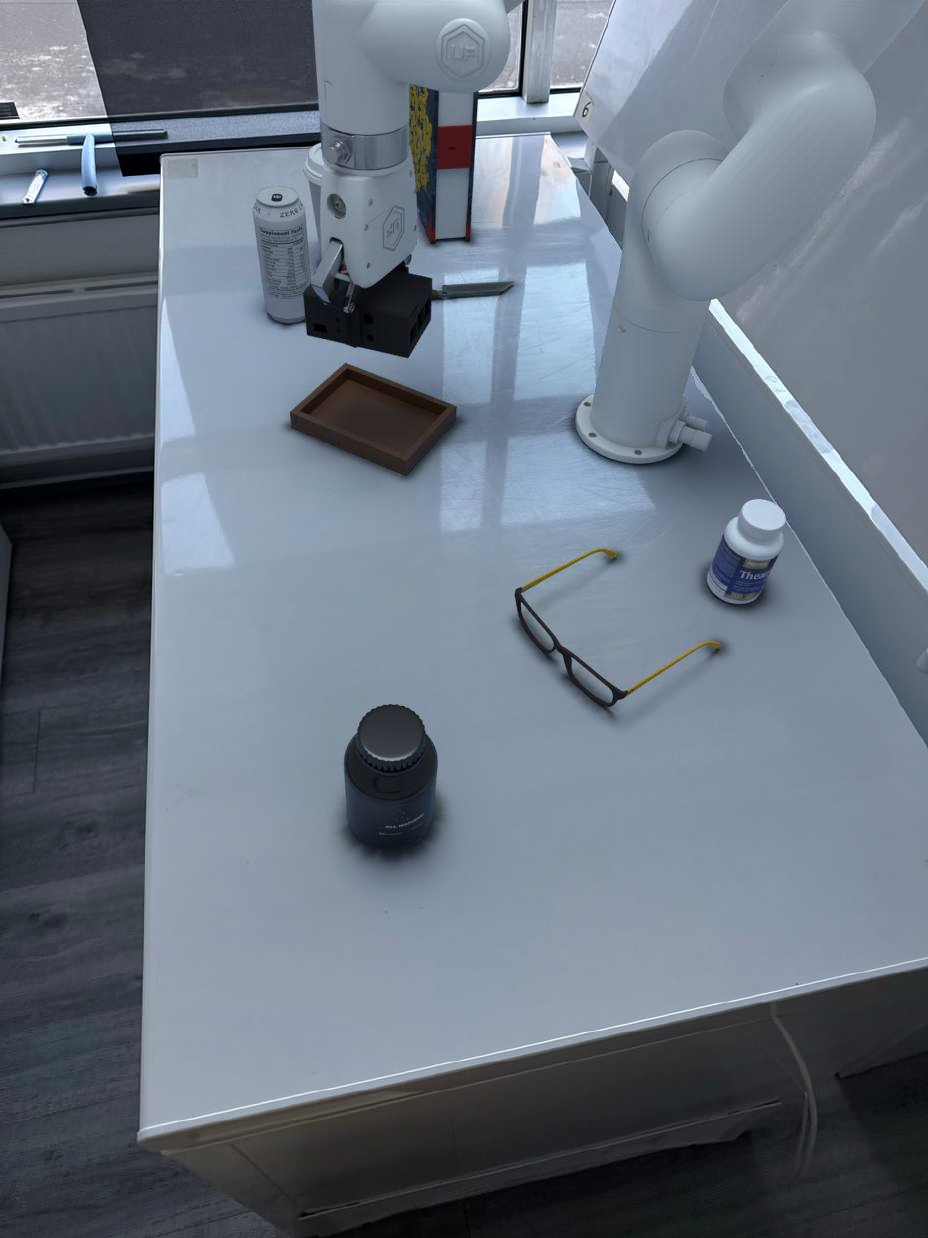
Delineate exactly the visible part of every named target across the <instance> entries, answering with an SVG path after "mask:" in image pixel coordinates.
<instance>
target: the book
mask: <svg viewBox="0 0 928 1238" xmlns="http://www.w3.org/2000/svg"><path fill="white" fill-rule="evenodd" d="M479 93H480V91H477V92H474V93H467V94H454V93H447V92H442V91H438V90H433V89H429V88H425V87H421V86H417V85H412V84H409V147H410V150H411V154H412V159H413V166H414V173H415V184H416V201H417V208H419V215H418V218H419V219H420V221H421V223H422V226H423V228H424V232H425V234H426V237H427V239H428V241H429V242H430V243H429V244H430V245H435V244H436V240H440V239H453V238H463V239H464V240H465V243H466V242H471V232H472V231H471V230H472V213H473V212H472V211H473V196H474V178H475V177H474V176H475V162H476V144H477V127H478V110H479Z"/></svg>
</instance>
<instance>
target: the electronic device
mask: <svg viewBox="0 0 928 1238" xmlns="http://www.w3.org/2000/svg"><path fill="white" fill-rule="evenodd" d="M341 273H344V274H347V275H349V273H348V270H347V268H346V267H344V268H343V269H342V271H341ZM349 276H350V275H349ZM349 284H350V283H349V282H346V281H343V280H340V283H339V287H338V292H340V293H341V294H342V295H343V296H345V297H346V295H347V291H348V288H349ZM432 289H433V278H432V277H429V276H425V275H424V276H423V275H421V274H420V275H419V274H414V273H411V272H409V273H406V272H401V271H397V270H391V271H390V272H389V273H388V274H386V275H385V276H384V277H383V278H381V279H380V280H379V281H378V282H376V283H375V284H374V285H372V286H370V287H368V288H362V287H360V290H359V294H358V297H357V301H356V304H355V308H357V309H359V319H360V345H359V346H358V347H357V348H361V349H365V350H370V351H374V352H378V353H383V354H387V355H392V356H396V357H399V358H405V359H409V358H410V357H411V355H412V353H413V352H414V350H415V349H416V346H417V345H418V343H419V341H420V339H421V338H422V336H423V335H424V333H425V331H426V330H427V328H428V326H429V324H430V323H431V321H432V306H433V305H432V304H433V303H432V302H433V298H432ZM303 300H304V311H305V319H304V322H305V331H306V336H308V337H312V338H317V339H321V340H325V341H330V342H335V343H338V344H341V343H340V342H338V341H335V340H333V339H331V337H330V330H329V316H328V306H327V305H325V304H324V302H322V301H321V300H320V299H319V298H318V295H317V293H316V292H315V290H314V289H313V287H312V286H311V283H310V285H309V286H308V287H307V288H306V290H305V291H304V293H303Z"/></svg>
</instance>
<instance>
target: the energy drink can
mask: <svg viewBox="0 0 928 1238" xmlns="http://www.w3.org/2000/svg"><path fill="white" fill-rule="evenodd" d="M299 197H300V196H299V192H298V191H297V190H296V189H295V188H293V187H291V186H288V185H283V184H282V185H281V184H272V185H268V186H264V187H261V188H260V189H258V191H257V192H256V193H255V198H256V200H255V202H254V204H253V206H252V219H253V225H254V232H255V240H256V248H257V255H258V263H259V264H258V265H259V271H260V277H261V278H260V279H261V286H262V293H263V301H264V308H265V310H266V313H268V314H269V315H270V316H271V318H272V319H274V321H277V322H280V323H282V324H295V323H299V322H303V321H305V311H304V300H303V293H304V291H305V290H306V288H307V287H308V286H309V285H310V283H311V280H312V275H311V273H312V272H311V261H310V251H309V239H308V227H307V216H306V215H307V214H306V207H305V205H304V203H303V202H302V200H301V199H300V198H299Z"/></svg>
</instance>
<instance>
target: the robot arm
mask: <svg viewBox="0 0 928 1238" xmlns="http://www.w3.org/2000/svg"><path fill="white" fill-rule="evenodd" d="M525 1H526V0H311V8H312V25H313V26H312V27H313V41H314V54H315V70H316V72H315V73H316V87H317V99H318V100H317V101H318V113H319V115H318V116H319V118H318V119H319V131H320V143H321V148H322V159H323V161H324V165H323V168H322V180H321V198H320V236H321V252H322V260H321V259H320V262H319V264H318V266H317V268H316V270H315V271H314V274H313V275H312V277H311V286H312V287H313V289H314V290H315V292H316V293H317V295H318V298H319V299H320V300H321V301H322V302H324V304H325V305H327V306H328V316H329V330H330V337H331V339H333V340H335V341H338V342H340V343H339V344H343V345H345V346H348V347H350V348H354V349H357V348H359V347H358V346H359V345H360V319H359V309H357V308H355V304H356V301H357V297H358V294H359V290H360V287H362V288H368V287H370V286H372V285H374V284H375V283H376V282H378V281H379V280H380V279H381V278H383V277H384V276H385V275H386V274H388V273H389V272H390V271H391V270H397V271H401V272H406V273H410V267H409V265H410V264H411V262H412V259H413V258H412V257H413V255H412V253H413V252H414V250H415V248H416V246H417V243H418V218H419V208H417V201H416V184H415V173H414V166H413V159H412V154H411V150H410V147H409V84H412V85H417V86H421V87H425V88H429V89H433V90H438V91H442V92H447V93H454V94H467V93H474V92H477V91H479V92H480V91H482V90H484V89H486V88H488V87H489V86H490V85H492V84H494V82H495V81H496V80H497V79H498V78H499V77H500V75H501V74H502V73H503V71H504V69H505V67H506V66H507V62H508V60H509V55H510V50H511V29H510V22H509V19H508V14H510V13H511V12H512V11H513V10H515V9H516V8H517V7H518V6H520V5H521V4H522V3H524V2H525ZM925 2H926V0H786V1H785V2H784V4H783V5H782V6H781V7H780V9H778V11H777V12H776V13H775V14H774V16H773V17H772V18H771V19H770V21H769V22H768V23H767V24H766V25H765V27H764V28H763V29H762V30H761V31H760V32H759V34H758V35H757V36H756V37H755V38H754V39H753V41H752V42H751V43H750V44H749V46H748V47H747V48H746V49H745V50H744V52H743V53H742V54H741V55H740V57H739V58H738V59H737V60H736V62H735V63H734V65H733V66H732V68H731V70H730V71H729V73H728V76H727V78H726V80H725V83H724V87H723V92H722V106H723V111H724V115H725V117H726V121H727V122H728V125H729V126H730V128H731V130H732V132H733V135H735V138H736V140H737V141H738V143H737V144H736V145H735V146H734V147H733V149H732V150H731V151H729V150H728V149H727V147H726V146H725V145H724V144H723V143H722V142H720V141H719V140H718V139H717V138H716V137H714V136H712V135H711V134H709V133H706V132H704V131H700V130H698V129H697V130H695V129H682V130H677V131H673V132H671V133H668V134H666V135H665V136H663V137H661V138H659V139H658V140H657V141H655V142H654V143H653V144H652V145H651V146H649V148H648V149H647V150H646V151H645V153H644V154H643V156H642V157H641V158H640V160H639V162H638V164H637V165H636V167H635V170H634V171H633V175H632V177H631V181H630V184H629V189H628V193H627V201H626V206H625V207H626V209H625V216H624V217H625V219H624V230H623V239H622V250H621V256H620V263H619V267H618V268H619V269H618V274H617V279H616V285H615V288H614V289H615V290H614V294H613V298H612V304H611V308H610V313H609V319H608V323H607V328H606V333H605V337H604V338H605V339H604V343H603V347H602V352H601V358H600V362H599V368H598V373H597V377H596V382H595V388H594V392H592V393H591V394H589V395H588V396H586V397H585V398H584V399H583V400H581V402H580V404H579V405H578V407H577V410H576V413H575V420H574V425H575V429H576V432H577V434H578V436H579V437H580V439H581V440H582V442H583V443H584V444H586V445H587V446H588V447H589V448H590V449H592V450H593V451H594V452H596V453H598V454H599V455H601V456H604V457H605V458H608V459H611V460H613V461H618V462H620V463H621V462H622V463H626V464H636V465H637V464H639V465H640V464H641V465H642V464H652V463H657V462H661V461H663V460H666V459H669V458H670V457H672V456H673V455H675V454H676V453H677V452H678V451H679V450H680V449H681V447H682V446H683V444H685V445H688V446H690V447H692V448H694V449H697V450H699V451H703V452H707V450H708V448H709V446H710V444H711V441H712V438H713V435H712V434H711V433H708V432H705V431H706V430H707V428H708V425H709V421H708V420H706V419H703V418H700V417H696V416H693V415H690V412H688V411H686V408H687V405H688V402H689V398H688V397H686V396H684V393H685V390H686V386H687V383H688V380H689V376H690V373H691V369H692V367H693V363H694V359H695V356H696V352H697V350H698V349H697V348H698V345H699V342H700V340H701V339H700V338H701V336H702V331H703V328H704V325H705V321H706V319H707V315H708V313H709V309H710V306H711V303H712V300H716V299H719V298H722V297H725V296H727V295H729V294H730V293H731V294H732V292H734V291H736V290H737V289H738V288H740V287H742V286H743V285H745V284H746V283H748V281H750V280H751V279H752V278H753V277H754V276H756V274H758V273H759V272H760V271H761V270H762V269H763V268H764V267H765V266H766V265H767V264H768V263H769V262H771V260H772V259H773V258H774V257H775V256H776V255H778V254H779V252H781V251H782V249H783V248H784V247H786V246H787V244H789V242H791V240H792V239H793V238H794V237H795V236H796V235H798V233H800V231H802V230H803V229H804V227H805V226H806V225H807V224H809V222H810V221H811V220H812V219H813V218H815V216H816V215H818V213H819V212H820V211H822V210H823V208H824V207H826V205H828V203H830V201H832V199H833V198H834V197H835V196H836V195H838V193H839V192H840V191H841V190H842V189H843V188H844V186H846V185H847V183H848V182H849V181H850V180H851V178H852V177H853V176H854V174H855V173H856V171H857V170H858V168H859V167H860V165H861V163H862V161H863V160H864V158H865V156H866V154H867V152H868V150H869V147H870V145H871V143H872V140H873V138H874V133H875V129H876V123H877V105H876V100H875V96H874V94H873V90H872V88H871V86H870V84H869V82H868V81H867V79H866V78H865V77H864V75H865V74H866V73H867V72H868V70H869V69H870V68H871V67H872V66H873V64H875V62H876V61H877V59H878V58H879V57H880V56H881V55H882V54H883V53H884V52H885V51H886V49H887V48H888V47H889V45H890V44H892V42H893V41H894V40H895V39H896V38H897V36H898V35H899V34H900V33H901V32H902V30H903V29H904V28H905V27H906V26H907V25H908V23H909V22H910V21H912V19H913V17H914V16H915V15H916V14H917V13H918V12H919V10H920V8H921V7H922V6H923V4H924V3H925ZM344 267H346V268H347V270H348V273H349V275H350V276H349V275H347V274H344V273H341V271H342V269H343V268H344ZM340 280H343V281H346V282H349V283H350V284H349V288H348V291H347V295H346V297H345V296H343V295H342V294H341V293H340V292H338V287H339V283H340ZM338 342H337V343H338Z"/></svg>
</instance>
